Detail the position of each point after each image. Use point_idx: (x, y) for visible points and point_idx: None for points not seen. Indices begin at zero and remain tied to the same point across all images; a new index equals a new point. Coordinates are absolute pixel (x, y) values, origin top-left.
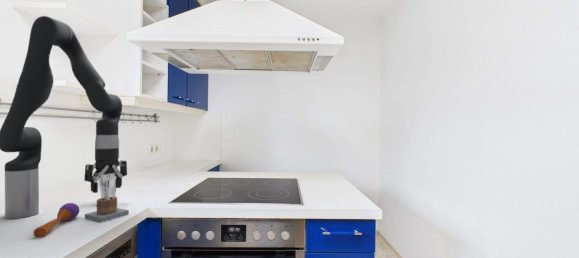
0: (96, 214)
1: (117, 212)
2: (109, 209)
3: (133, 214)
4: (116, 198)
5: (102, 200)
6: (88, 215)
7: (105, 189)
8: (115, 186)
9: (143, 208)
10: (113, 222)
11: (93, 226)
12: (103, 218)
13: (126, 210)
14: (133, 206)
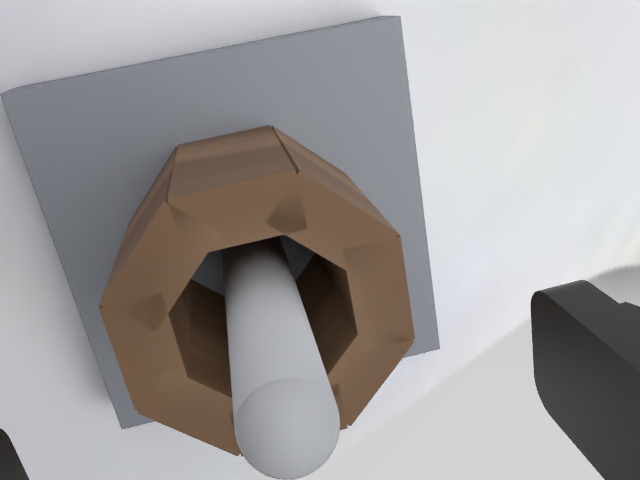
0: (118, 242)
1: None
2: None
3: (445, 369)
4: (382, 378)
5: (169, 382)
6: (34, 182)
7: (246, 457)
8: (545, 294)
9: (625, 236)
10: (208, 475)
11: (30, 465)
12: (143, 417)
13: (419, 343)
14: (631, 46)
